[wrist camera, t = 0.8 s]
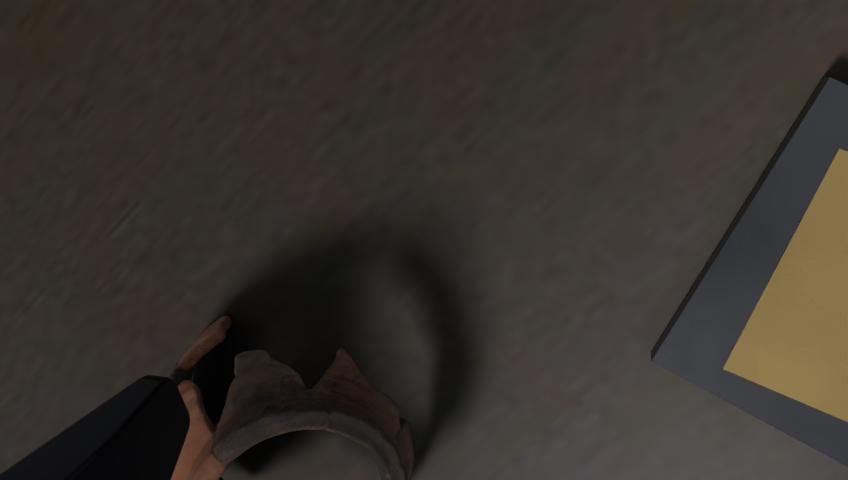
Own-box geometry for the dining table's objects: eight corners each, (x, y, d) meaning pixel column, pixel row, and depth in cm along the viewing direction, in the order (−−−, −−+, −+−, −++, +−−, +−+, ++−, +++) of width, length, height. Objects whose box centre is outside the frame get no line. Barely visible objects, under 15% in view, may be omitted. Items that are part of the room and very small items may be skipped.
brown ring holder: (249, 240, 29) (263, 330, 21) (428, 361, 33) (494, 474, 25) (64, 473, 30) (15, 639, 22) (258, 565, 34) (273, 732, 26)
